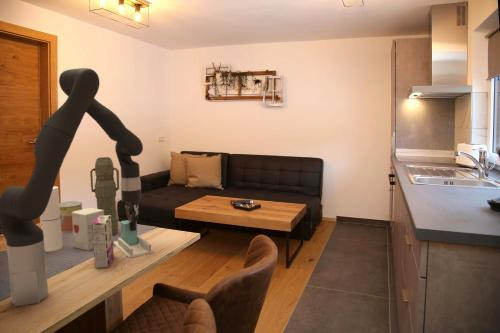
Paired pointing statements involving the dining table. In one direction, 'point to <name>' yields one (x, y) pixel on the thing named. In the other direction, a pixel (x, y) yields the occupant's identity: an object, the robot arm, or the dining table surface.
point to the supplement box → (84, 227)
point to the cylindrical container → (52, 223)
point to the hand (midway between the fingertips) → (132, 230)
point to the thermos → (106, 189)
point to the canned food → (68, 214)
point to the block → (128, 233)
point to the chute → (134, 247)
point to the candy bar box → (102, 241)
